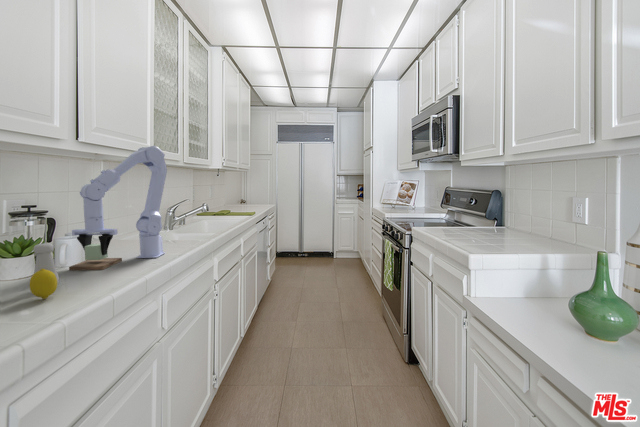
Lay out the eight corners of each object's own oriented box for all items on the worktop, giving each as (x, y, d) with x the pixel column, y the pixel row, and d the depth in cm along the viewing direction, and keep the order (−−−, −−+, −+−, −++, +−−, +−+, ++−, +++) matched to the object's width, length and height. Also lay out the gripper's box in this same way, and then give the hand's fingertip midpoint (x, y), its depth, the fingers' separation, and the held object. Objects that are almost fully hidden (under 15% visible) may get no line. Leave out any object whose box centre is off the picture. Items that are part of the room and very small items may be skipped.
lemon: (46, 302, 84) (44, 271, 83) (24, 302, 84) (22, 271, 83) (63, 295, 90) (61, 266, 89) (43, 295, 90) (41, 265, 89)
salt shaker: (38, 294, 90) (34, 246, 89) (29, 290, 94) (25, 244, 92) (63, 288, 95) (60, 243, 94) (54, 285, 98) (51, 241, 97)
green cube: (93, 257, 124) (92, 243, 124) (107, 257, 125) (106, 243, 124) (85, 260, 119) (84, 246, 119) (100, 260, 120) (99, 246, 119)
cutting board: (91, 261, 128) (91, 258, 128) (121, 260, 129) (121, 257, 129) (69, 270, 115) (69, 266, 115) (102, 269, 116) (102, 266, 116)
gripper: (65, 218, 116) (67, 257, 117) (109, 218, 117) (111, 256, 118) (78, 216, 123) (80, 253, 124) (119, 216, 124) (121, 252, 125)
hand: (96, 254), depth 122 cm, fingers closed on green cube, 5 cm apart
